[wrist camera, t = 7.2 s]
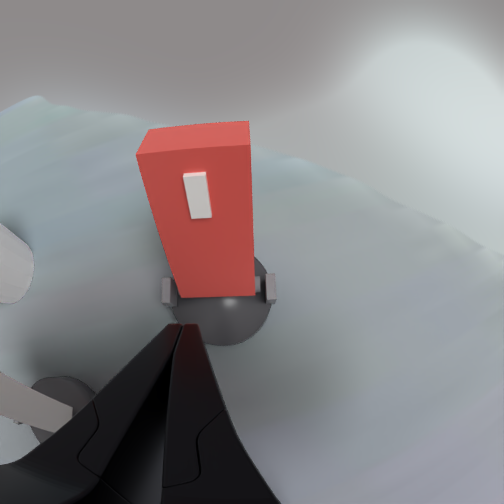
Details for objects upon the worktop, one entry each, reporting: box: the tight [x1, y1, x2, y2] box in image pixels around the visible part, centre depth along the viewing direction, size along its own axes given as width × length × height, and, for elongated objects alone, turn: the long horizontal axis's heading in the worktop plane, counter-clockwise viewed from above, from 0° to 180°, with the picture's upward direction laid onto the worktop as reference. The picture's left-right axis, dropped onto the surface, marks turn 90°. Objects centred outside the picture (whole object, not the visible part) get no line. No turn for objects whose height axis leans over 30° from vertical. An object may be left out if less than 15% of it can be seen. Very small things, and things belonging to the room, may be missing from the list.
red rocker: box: [136, 121, 260, 298], centre depth 14 cm, size 2×5×10 cm, turn 93°
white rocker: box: [0, 372, 74, 433], centre depth 11 cm, size 2×5×10 cm, turn 93°
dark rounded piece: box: [161, 257, 276, 346], centre depth 18 cm, size 6×6×4 cm
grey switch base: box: [13, 377, 95, 443], centre depth 16 cm, size 6×6×4 cm
